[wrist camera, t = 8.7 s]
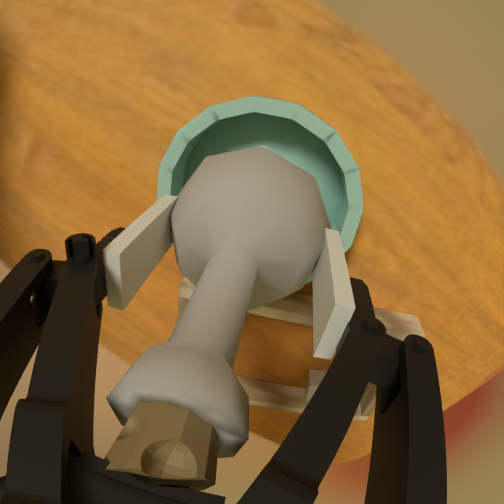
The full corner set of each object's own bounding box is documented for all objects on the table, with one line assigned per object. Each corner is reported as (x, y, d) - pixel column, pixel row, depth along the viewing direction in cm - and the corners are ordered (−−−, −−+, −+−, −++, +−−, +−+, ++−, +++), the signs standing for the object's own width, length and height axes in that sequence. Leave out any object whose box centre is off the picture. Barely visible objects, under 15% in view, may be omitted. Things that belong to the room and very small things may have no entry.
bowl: (169, 249, 28) (154, 269, 25) (185, 85, 21) (167, 85, 18) (326, 283, 28) (328, 308, 24) (374, 122, 21) (386, 128, 18)
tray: (184, 367, 36) (176, 386, 33) (189, 268, 29) (179, 286, 26) (363, 401, 35) (365, 420, 32) (417, 315, 28) (425, 336, 25)
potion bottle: (227, 115, 18) (-57, 255, 3) (351, 188, 19) (450, 490, 4) (172, 226, 23) (8, 445, 7) (280, 286, 24) (237, 548, 8)
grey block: (305, 385, 34) (305, 402, 32) (310, 368, 33) (309, 385, 31) (339, 387, 34) (340, 404, 32) (345, 370, 33) (347, 388, 30)
